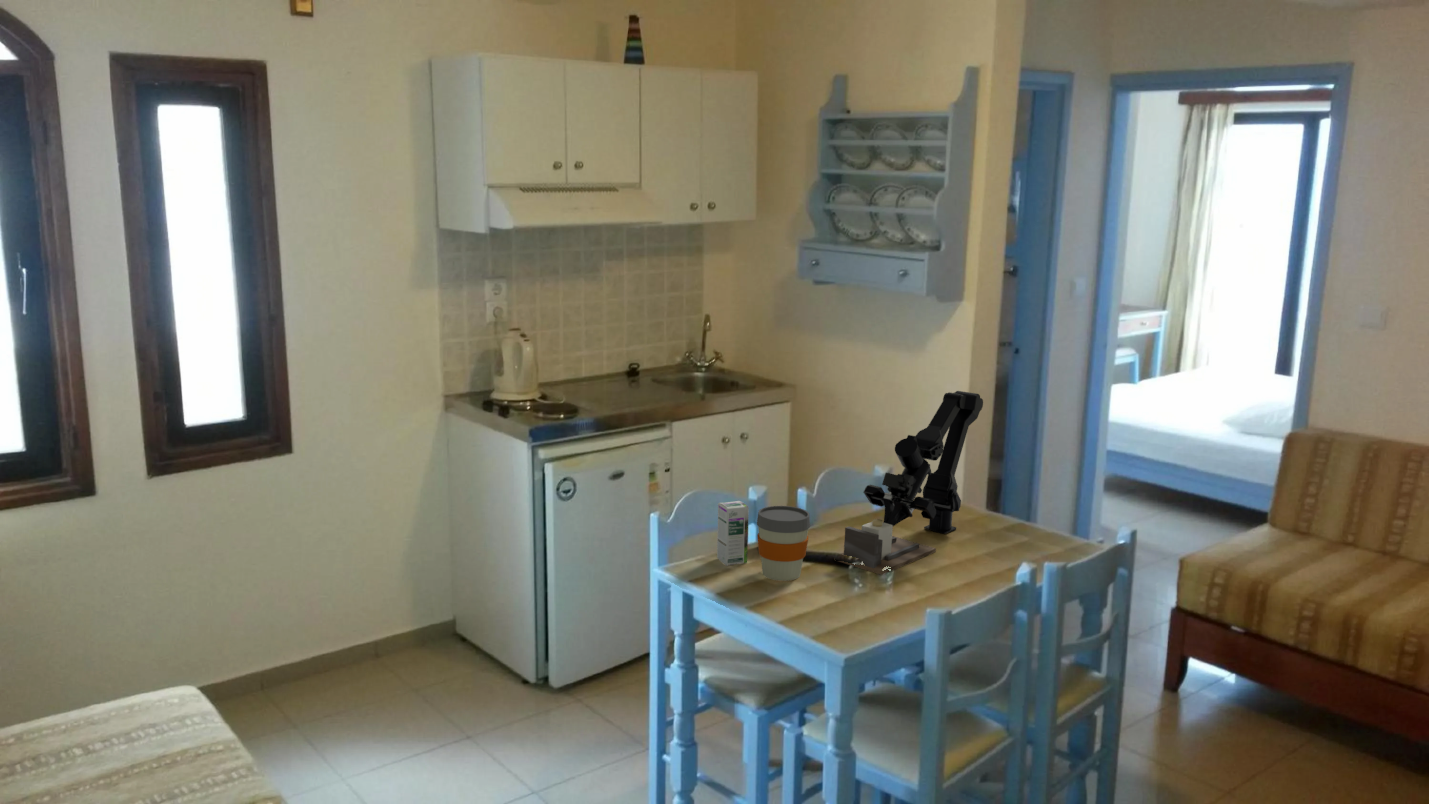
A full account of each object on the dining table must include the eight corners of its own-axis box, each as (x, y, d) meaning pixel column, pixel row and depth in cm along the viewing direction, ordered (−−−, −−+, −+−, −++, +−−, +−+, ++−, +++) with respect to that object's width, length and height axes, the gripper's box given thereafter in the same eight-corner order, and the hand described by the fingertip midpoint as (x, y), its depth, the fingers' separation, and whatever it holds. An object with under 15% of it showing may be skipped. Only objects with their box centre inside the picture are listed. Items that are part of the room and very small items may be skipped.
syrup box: (726, 566, 262) (727, 508, 259) (716, 558, 267) (717, 501, 265) (747, 563, 264) (749, 506, 261) (737, 555, 270) (739, 499, 267)
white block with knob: (873, 550, 273) (876, 515, 271) (890, 555, 269) (893, 520, 268) (860, 556, 268) (862, 520, 266) (876, 561, 265) (879, 525, 263)
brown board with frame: (889, 538, 286) (891, 505, 284) (935, 551, 276) (938, 518, 275) (834, 560, 268) (836, 525, 267) (881, 575, 259) (884, 538, 257)
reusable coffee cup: (747, 578, 254) (750, 517, 251) (764, 561, 266) (766, 502, 263) (799, 586, 250) (802, 524, 247) (813, 569, 262) (816, 509, 259)
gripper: (869, 453, 277) (841, 503, 271) (933, 467, 264) (905, 520, 259) (885, 478, 284) (858, 527, 278) (948, 493, 272) (921, 545, 266)
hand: (884, 529), depth 270 cm, fingers closed, pressing on white block with knob
